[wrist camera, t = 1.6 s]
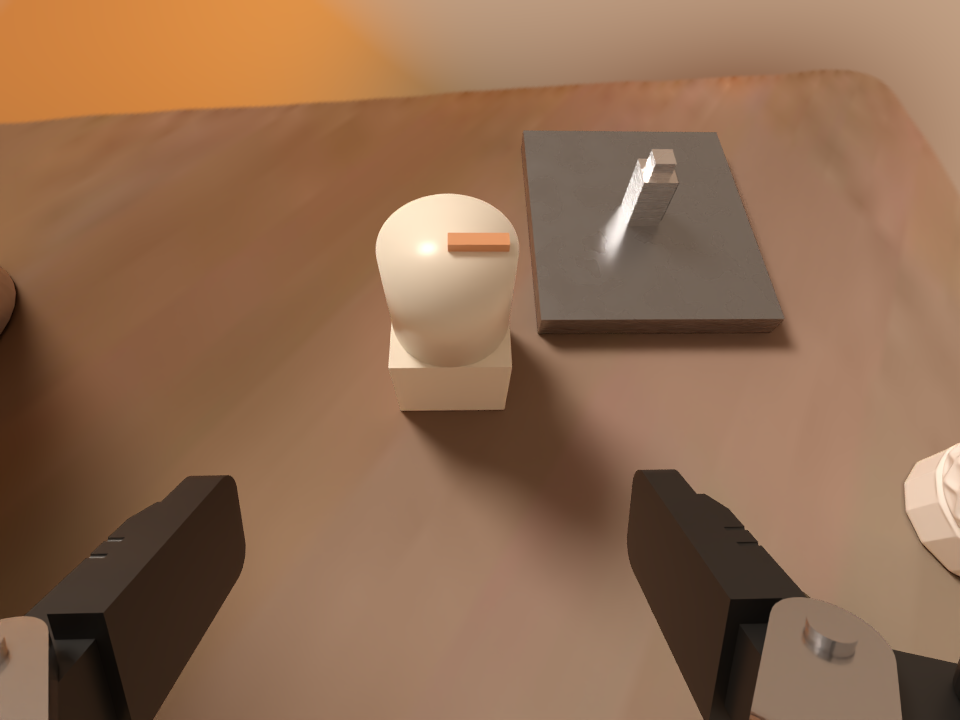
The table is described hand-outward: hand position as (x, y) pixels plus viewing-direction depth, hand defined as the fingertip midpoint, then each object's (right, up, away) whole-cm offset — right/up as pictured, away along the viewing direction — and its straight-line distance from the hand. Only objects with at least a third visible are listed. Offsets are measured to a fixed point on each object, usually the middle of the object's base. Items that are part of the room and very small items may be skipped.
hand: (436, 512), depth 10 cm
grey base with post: (+11, +12, +23) cm, 29 cm away
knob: (-1, +3, +18) cm, 19 cm away
